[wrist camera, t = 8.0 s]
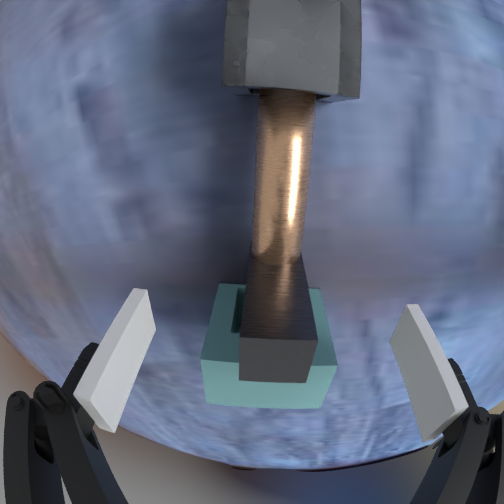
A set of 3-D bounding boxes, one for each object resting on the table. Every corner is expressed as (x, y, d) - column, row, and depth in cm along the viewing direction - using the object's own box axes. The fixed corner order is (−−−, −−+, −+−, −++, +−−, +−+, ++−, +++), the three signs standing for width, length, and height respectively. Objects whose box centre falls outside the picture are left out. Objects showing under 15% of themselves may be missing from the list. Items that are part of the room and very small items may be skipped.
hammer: (259, 55, 13) (252, -3, 5) (314, 59, 13) (362, 11, 5) (247, 329, 23) (238, 425, 15) (286, 331, 23) (290, 427, 15)
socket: (219, 283, 22) (200, 359, 15) (319, 288, 22) (337, 365, 15) (220, 328, 25) (206, 403, 18) (309, 333, 25) (319, 408, 17)
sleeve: (242, -20, 12) (233, -64, 6) (333, -12, 12) (356, -51, 6) (236, 95, 16) (222, 85, 11) (330, 102, 16) (359, 98, 10)
